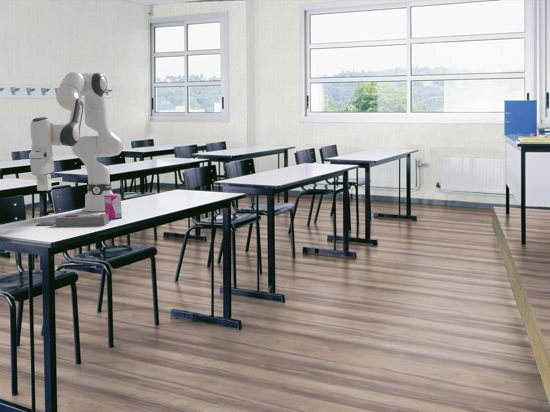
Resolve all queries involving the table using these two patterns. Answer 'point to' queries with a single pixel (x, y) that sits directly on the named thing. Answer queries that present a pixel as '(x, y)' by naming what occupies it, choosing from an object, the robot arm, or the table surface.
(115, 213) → the supplement box
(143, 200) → the table surface
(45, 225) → the mat
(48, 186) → the charger
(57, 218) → the grey flat block
